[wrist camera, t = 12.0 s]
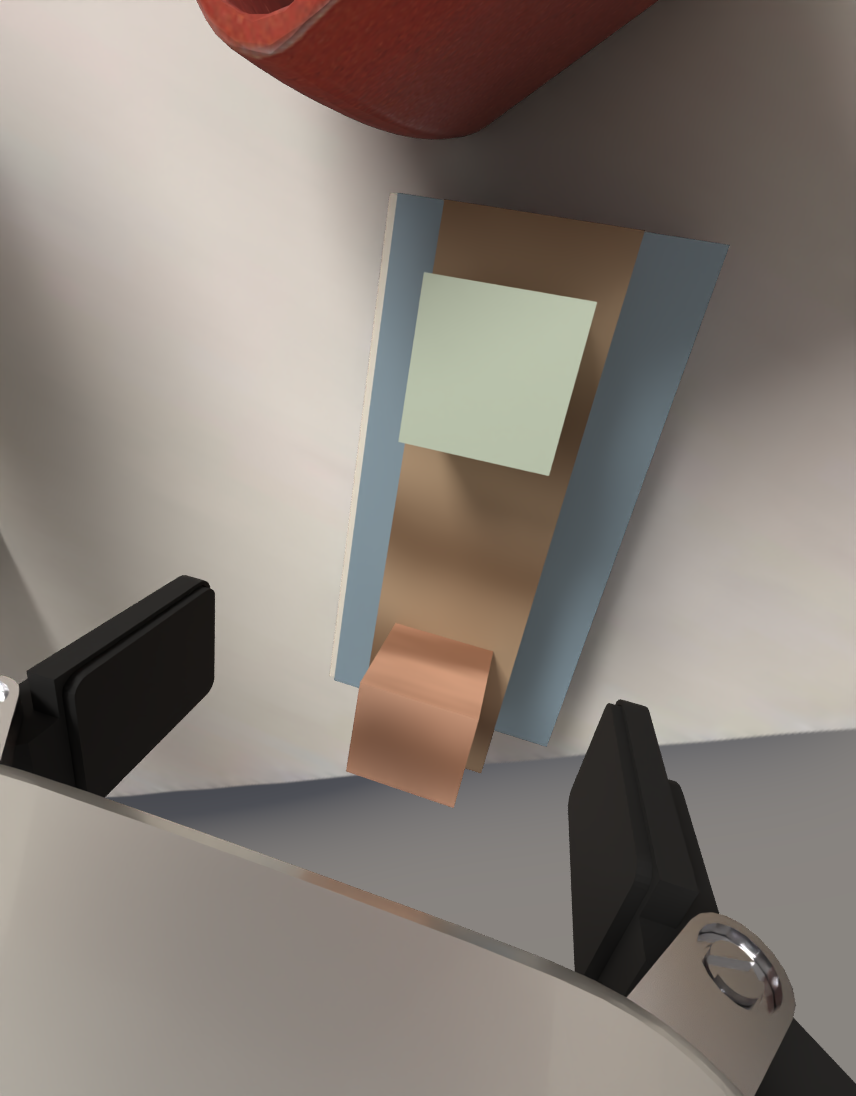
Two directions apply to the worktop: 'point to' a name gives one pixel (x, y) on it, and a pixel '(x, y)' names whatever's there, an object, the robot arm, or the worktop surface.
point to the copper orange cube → (419, 713)
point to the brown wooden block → (490, 489)
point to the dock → (597, 477)
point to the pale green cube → (493, 371)
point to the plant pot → (417, 53)
